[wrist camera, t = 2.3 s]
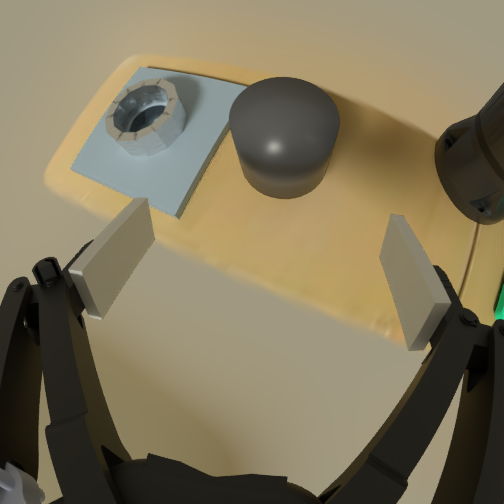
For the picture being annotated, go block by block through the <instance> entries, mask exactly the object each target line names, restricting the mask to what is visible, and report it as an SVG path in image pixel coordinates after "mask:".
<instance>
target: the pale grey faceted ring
mask: <svg viewBox="0 0 504 504" xmlns="http://www.w3.org/2000/svg"><path fill="white" fill-rule="evenodd" d="M160 103H167V105H166V106H163V105H156V106H152V107H149V108H147V109H145V110H144V111H142V112H141V113H140V114H139V115H137V114H138V113H139V112H140V111H141V110H142V109H144V108H146V107H148V106H150V105H152V104H160ZM136 115H137V117H136V118H135V119H134V120H133V122H132V124H131V127H130V132H127V129H128V127H129V124H130V122H131V120H132V119H133V118H134V117H135V116H136ZM187 118H188V116H187V113H186V110H185V107H184V104H183V102H182V100H181V98H180V96H179V93H178V91H177V89H176V87H175V85H174V84H172V83H170V82H168V81H166V80H164V79H162V78H156V79H144V80H142V81H140V82H138V83H136V84H134V85H132V86H130V87H128V88H126V89H125V90H124V91H123V92H122V93H121V94H120V95H119V96H118V97H117V98H116V99H115V100H114V101H113V102H112V104H111V106H110V108H109V110H108V112H107V114H106V116H105V125H106V133H107V134H108V135H109V136H110V137H111V138H112V139H113V140H114V141H115V142H116V143H117V144H118V145H119V146H120V147H121V148H122V149H124V150H125V151H126V152H127V153H128V154H129V155H131V156H134V157H150V156H152V155H154V154H157V153H159V152H161V151H163V150H166V149H168V148H169V147H170V146H171V145H172V144H173V143H174V141H175V140H176V139H177V138H178V137H179V136H180V135H181V134H182V133H183V130H184V127H185V124H186V121H187Z"/></svg>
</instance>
